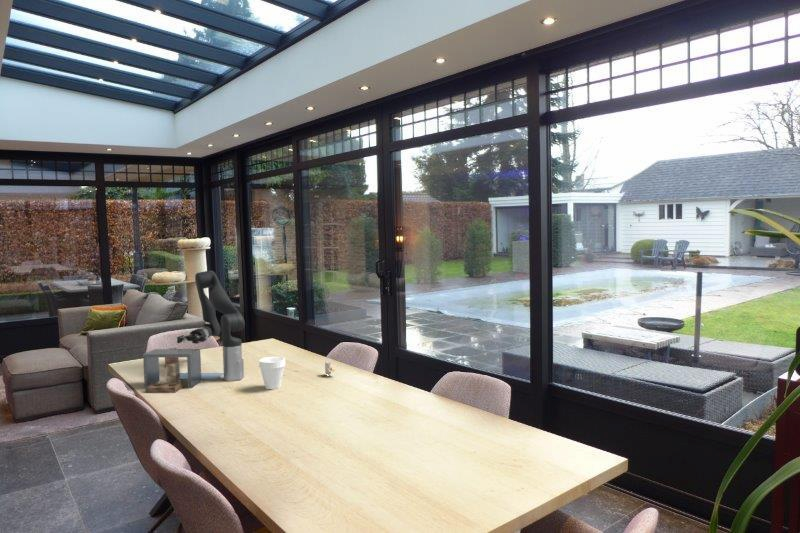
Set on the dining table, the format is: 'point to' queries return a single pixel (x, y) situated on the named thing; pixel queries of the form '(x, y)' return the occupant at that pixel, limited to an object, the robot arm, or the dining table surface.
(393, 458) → the dining table surface
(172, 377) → the maple block
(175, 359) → the lighter
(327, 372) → the architectural model
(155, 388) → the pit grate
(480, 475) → the dining table surface
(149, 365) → the tunnel
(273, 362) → the cup
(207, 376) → the mat
